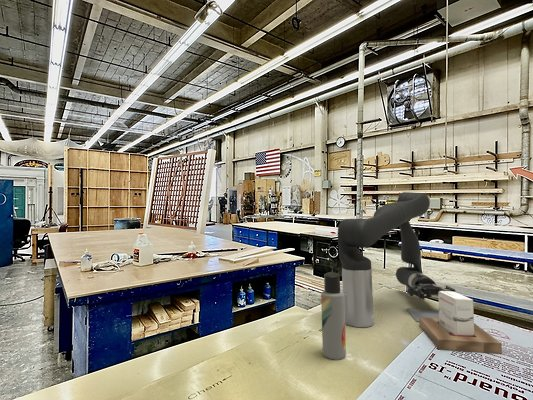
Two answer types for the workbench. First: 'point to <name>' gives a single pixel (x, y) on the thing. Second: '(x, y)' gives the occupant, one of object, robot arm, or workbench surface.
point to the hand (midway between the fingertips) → (437, 297)
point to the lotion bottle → (333, 317)
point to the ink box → (456, 314)
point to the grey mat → (423, 313)
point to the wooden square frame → (460, 338)
